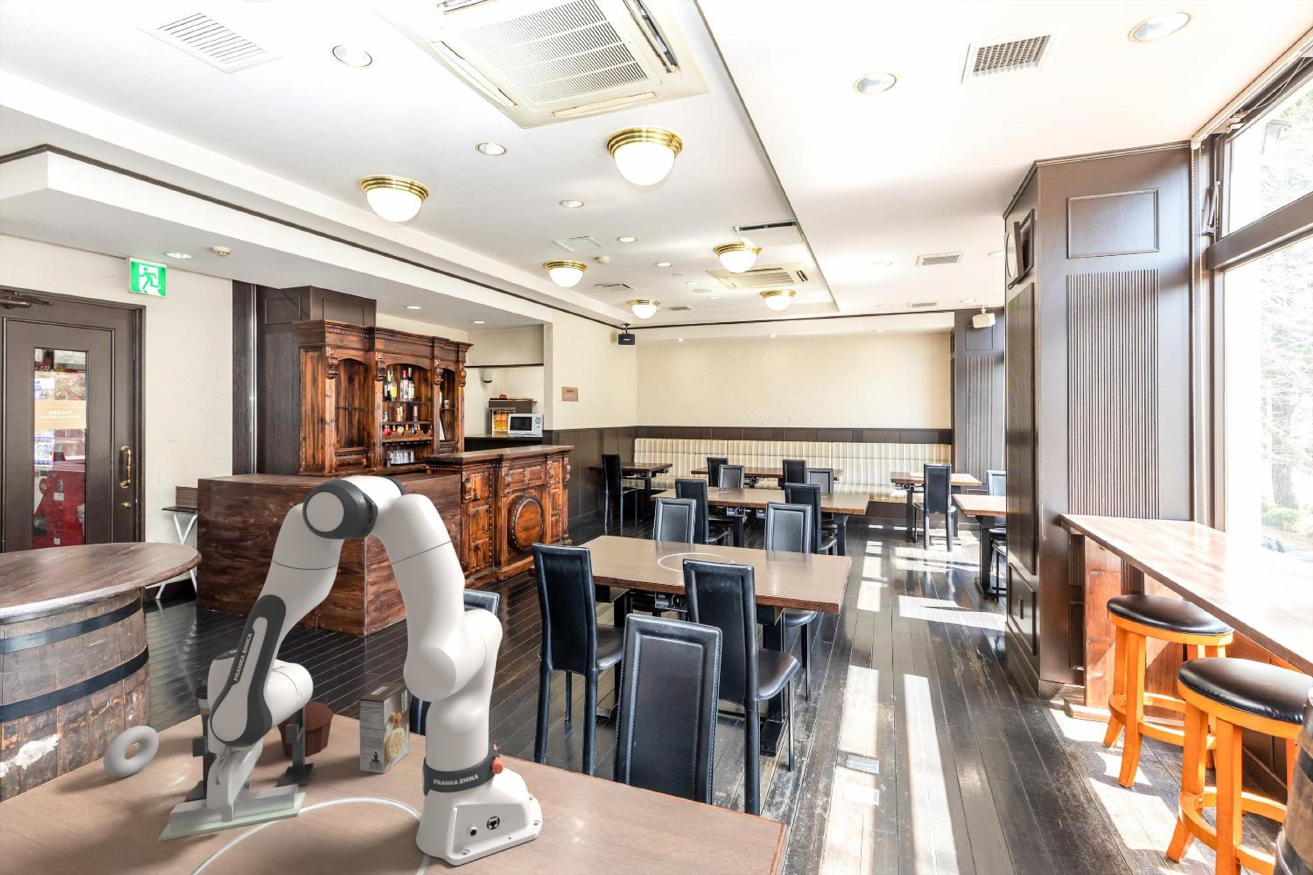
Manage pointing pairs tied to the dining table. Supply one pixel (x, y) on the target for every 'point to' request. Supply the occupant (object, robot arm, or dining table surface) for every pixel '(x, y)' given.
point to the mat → (233, 822)
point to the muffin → (310, 729)
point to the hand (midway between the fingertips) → (236, 804)
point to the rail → (243, 805)
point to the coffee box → (384, 727)
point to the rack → (294, 735)
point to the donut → (118, 747)
